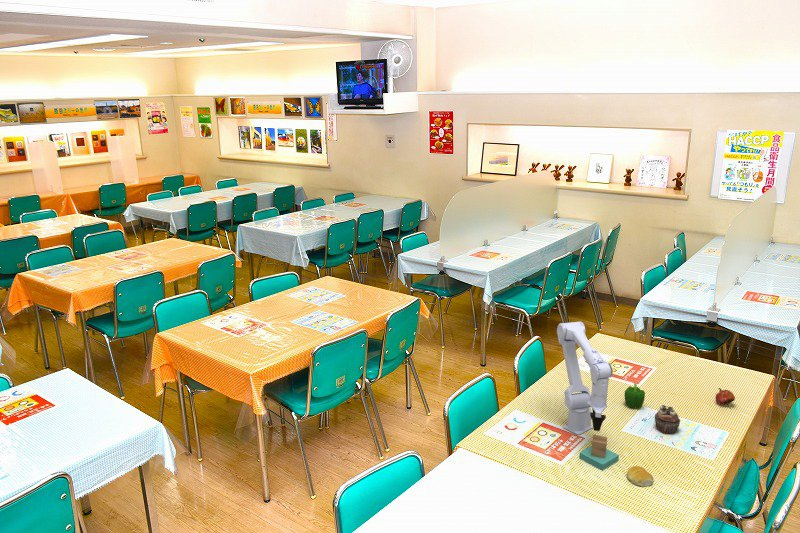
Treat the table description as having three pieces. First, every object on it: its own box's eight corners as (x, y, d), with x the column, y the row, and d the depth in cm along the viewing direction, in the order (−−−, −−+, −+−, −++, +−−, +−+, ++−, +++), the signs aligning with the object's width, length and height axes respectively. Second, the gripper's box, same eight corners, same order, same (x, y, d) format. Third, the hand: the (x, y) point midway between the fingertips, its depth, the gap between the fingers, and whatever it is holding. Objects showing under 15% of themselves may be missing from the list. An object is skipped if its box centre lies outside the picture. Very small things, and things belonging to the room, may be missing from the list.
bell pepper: (640, 412, 262) (642, 391, 260) (621, 407, 267) (623, 386, 265) (646, 405, 269) (648, 384, 266) (627, 399, 274) (629, 379, 271)
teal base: (595, 450, 236) (596, 443, 235) (618, 462, 228) (618, 455, 227) (579, 459, 230) (579, 452, 229) (602, 471, 222) (602, 464, 222)
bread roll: (641, 470, 222) (642, 461, 221) (656, 485, 214) (658, 475, 213) (621, 473, 221) (622, 464, 220) (635, 488, 212) (636, 478, 211)
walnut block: (592, 448, 232) (593, 434, 230) (606, 451, 230) (607, 437, 228) (590, 455, 227) (592, 441, 226) (604, 458, 225) (606, 443, 224)
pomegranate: (735, 411, 268) (726, 390, 274) (742, 404, 262) (732, 383, 268) (719, 413, 268) (709, 392, 274) (725, 406, 262) (715, 385, 268)
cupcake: (681, 436, 244) (684, 414, 241) (655, 434, 246) (658, 411, 243) (676, 424, 253) (678, 402, 250) (651, 422, 255) (653, 400, 252)
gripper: (588, 383, 239) (585, 414, 242) (588, 400, 225) (585, 433, 229) (607, 385, 237) (604, 417, 240) (608, 403, 223) (605, 436, 227)
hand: (596, 425), depth 235 cm, fingers open, 7 cm apart
